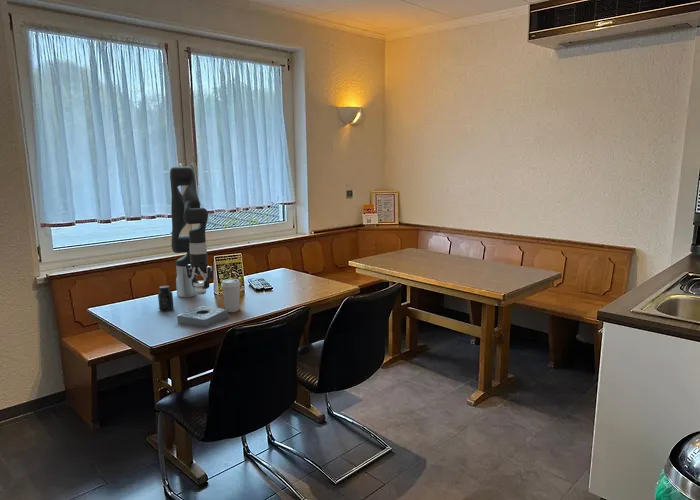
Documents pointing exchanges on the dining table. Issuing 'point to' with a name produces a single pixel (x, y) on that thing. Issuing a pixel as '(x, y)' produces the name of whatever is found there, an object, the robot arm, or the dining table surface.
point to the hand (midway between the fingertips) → (200, 287)
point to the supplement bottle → (165, 299)
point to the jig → (202, 316)
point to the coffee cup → (231, 294)
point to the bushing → (199, 287)
